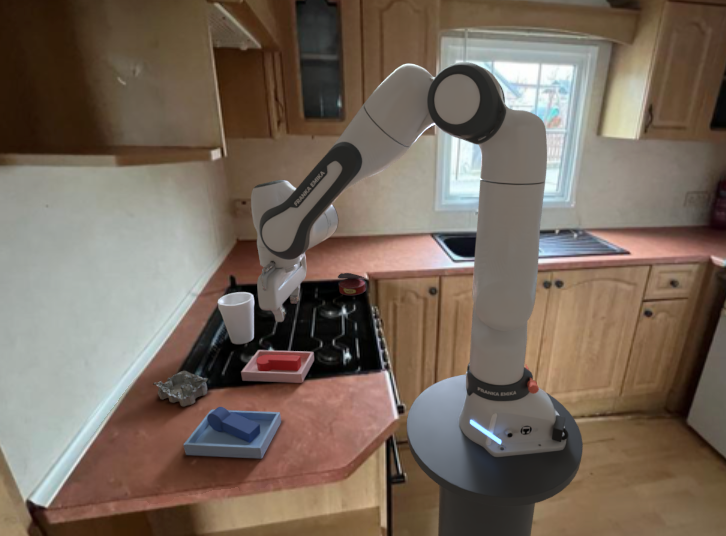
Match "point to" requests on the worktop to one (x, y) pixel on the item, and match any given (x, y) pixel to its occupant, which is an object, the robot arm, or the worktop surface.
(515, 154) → the robot arm
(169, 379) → the egg carton
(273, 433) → the blue tray
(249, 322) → the foam cup
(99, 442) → the worktop surface
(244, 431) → the dark blue block
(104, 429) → the worktop surface
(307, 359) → the rose tray
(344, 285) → the canned food
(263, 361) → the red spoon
